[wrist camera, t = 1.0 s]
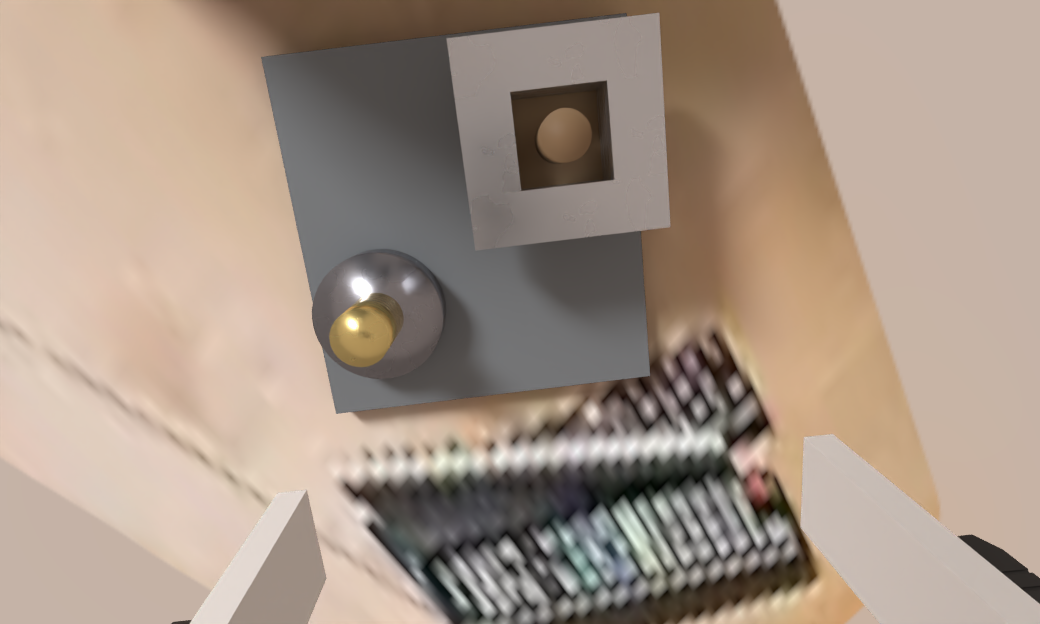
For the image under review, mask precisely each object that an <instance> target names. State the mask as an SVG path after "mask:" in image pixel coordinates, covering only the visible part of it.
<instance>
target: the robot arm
mask: <svg viewBox="0 0 1040 624" xmlns="http://www.w3.org/2000/svg"><path fill="white" fill-rule="evenodd" d="M801 528H802V530H803V531H804V532H805V533H806V535H807V536H808V537H809V538H810V539H811V541H812V542H813V543H814V544H815V546H816V547H817V548H818V549H819V550H820V552H821V553H822V554H823V555H824V556H825V558H826V559H827V560H828V561H829V563H830V564H831V565H832V566H833V567H834V569H835V570H836V571H837V572H838V574H839V575H840V576H841V577H842V578H843V580H844V581H845V582H846V583H847V585H848V586H849V587H850V588H851V589H852V591H853V592H854V593H855V594H856V595H857V597H858V598H859V599H860V600H861V602H862V603H863V604H864V605H865V606H866V608H867V609H868V610H869V611H870V613H871V614H872V615H873V616H874V617H875V619H876V620H877V621H878V622H879V623H880V624H1040V578H1039V577H1038V576H1036V575H1035V574H1034V573H1029V572H1028V569H1027V568H1026V567H1025V566H1023V565H1022V564H1021V563H1019V562H1018V561H1017V560H1016V559H1014V558H1013V557H1011V556H1010V555H1009V554H1008V553H1006V552H1005V551H1004V550H1002V549H1000V548H998V547H996V546H994V545H992V544H990V543H988V542H986V541H984V540H982V539H980V538H978V537H976V536H974V535H964V536H956V535H955V534H954V533H953V532H951V531H950V530H949V529H948V528H946V527H945V526H944V525H943V524H942V523H940V522H939V521H938V520H937V519H936V518H934V517H933V516H932V515H931V514H929V513H928V512H927V511H926V510H925V509H923V508H922V507H921V506H920V505H918V504H917V503H916V502H915V501H914V500H912V499H911V498H910V497H909V496H908V495H906V494H905V493H904V492H903V491H901V490H900V489H899V488H898V487H897V486H895V485H894V484H893V483H892V482H890V481H889V480H888V479H887V478H886V477H884V476H883V475H882V474H881V473H879V472H878V471H877V470H876V469H875V468H873V467H872V466H871V465H870V464H869V463H867V462H866V461H865V460H864V459H862V458H861V457H860V456H859V455H858V454H856V453H855V452H854V451H853V450H851V449H850V448H849V447H848V446H847V445H845V444H844V443H843V442H842V441H841V440H839V439H838V438H837V437H836V436H834V435H833V434H829V435H820V436H810V437H804V448H803V476H802V504H801ZM325 580H326V574H325V570H324V565H323V561H322V556H321V552H320V547H319V543H318V538H317V534H316V529H315V525H314V520H313V516H312V512H311V507H310V503H309V498H308V494H307V490H300V491H291V492H281V493H277V494H276V496H275V497H274V499H273V500H272V502H271V503H270V505H269V506H268V508H267V509H266V511H265V512H264V514H263V515H262V517H261V518H260V520H259V521H258V523H257V524H256V526H255V527H254V529H253V530H252V532H251V533H250V535H249V536H248V537H247V539H246V540H245V542H244V543H243V545H242V546H241V548H240V549H239V551H238V552H237V554H236V555H235V557H234V558H233V560H232V561H231V563H230V564H229V566H228V567H227V569H226V570H225V572H224V573H223V575H222V576H221V578H220V579H219V581H218V582H217V584H216V585H215V587H214V588H213V590H212V591H211V593H210V594H209V596H208V597H207V598H206V600H205V601H204V603H203V604H202V606H201V608H200V609H199V610H198V612H197V613H196V615H195V616H194V618H193V619H192V620H188V621H178V622H173V623H172V624H307V623H308V621H309V619H310V616H311V614H312V611H313V609H314V607H315V604H316V602H317V599H318V597H319V595H320V592H321V590H322V587H323V585H324V583H325Z"/></svg>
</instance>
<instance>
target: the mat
mask: <svg viewBox="0 0 1040 624" xmlns="http://www.w3.org/2000/svg"><path fill="white" fill-rule="evenodd" d="M620 17H627V13H623V14H615V15H607V16H598V17H590V18H582V19H573V20H565V21H557V22H548V23H540V24H532V25H523V26H515V27H507V28H498V29H490V30H482V31H474V32H465V33H457V34H449V35H440V36H432V37H424V38H415V39H407V40H399V41H390V42H382V43H374V44H366V45H357V46H349V47H341V48H332V49H324V50H316V51H307V52H299V53H291V54H282V55H274V56H266V57H261V59H262V63H263V68H264V73H265V78H266V82H267V87H268V92H269V97H270V101H271V106H272V111H273V116H274V120H275V125H276V130H277V135H278V139H279V144H280V149H281V154H282V158H283V163H284V168H285V173H286V177H287V182H288V187H289V192H290V196H291V201H292V206H293V211H294V215H295V220H296V225H297V230H298V234H299V239H300V244H301V249H302V253H303V258H304V263H305V268H306V272H307V277H308V282H309V287H310V291H311V296H312V301H313V300H314V297H315V293H316V291H317V289H318V286H319V285H320V283H321V281H322V280H323V278H324V277H325V276H326V275H327V274H328V272H329V271H331V270H332V269H333V268H334V267H335V266H337V265H338V264H340V263H341V262H343V261H345V260H346V259H348V258H350V257H352V256H354V255H356V254H358V253H361V252H364V251H368V250H373V249H391V250H396V251H400V252H403V253H406V254H408V255H410V256H412V257H414V258H416V259H417V260H419V261H420V262H422V263H423V264H424V265H425V266H426V267H427V268H428V269H429V270H430V271H431V272H432V273H433V275H434V276H435V277H436V279H437V280H438V282H439V284H440V286H441V288H442V291H443V294H444V298H445V303H446V319H445V324H444V327H443V330H442V333H441V336H440V338H439V341H438V343H437V345H436V347H435V349H434V351H433V352H432V354H431V355H430V356H429V357H428V359H427V360H426V361H425V362H424V363H423V364H421V365H420V366H419V367H418V368H416V369H414V370H413V371H411V372H409V373H407V374H405V375H402V376H399V377H394V378H389V379H372V378H367V377H362V376H359V375H356V374H354V373H352V372H349V371H347V370H346V369H344V368H343V367H341V366H340V365H338V364H337V363H336V362H335V361H333V360H332V359H331V357H330V356H329V355H328V354H327V353H326V352H325V350H324V349H323V353H324V358H325V362H326V367H327V372H328V377H329V381H330V386H331V391H332V396H333V400H334V405H335V410H336V414H338V413H346V412H355V411H363V410H371V409H380V408H388V407H396V406H405V405H413V404H421V403H429V402H438V401H446V400H454V399H463V398H471V397H479V396H488V395H496V394H504V393H513V392H521V391H529V390H537V389H546V388H554V387H562V386H571V385H579V384H587V383H596V382H604V381H612V380H620V379H629V378H637V377H645V376H650V367H649V352H648V336H647V321H646V305H645V290H644V275H643V259H642V244H641V231H634V232H626V233H618V234H609V235H601V236H593V237H584V238H576V239H568V240H560V241H551V242H543V243H535V244H526V245H518V246H510V247H501V248H493V249H485V250H476V251H475V245H474V237H473V230H472V223H471V215H470V208H469V201H468V193H467V186H466V179H465V171H464V164H463V156H462V149H461V142H460V134H459V127H458V120H457V112H456V105H455V98H454V90H453V83H452V76H451V68H450V61H449V54H448V46H447V39H446V38H453V37H462V36H470V35H478V34H487V33H495V32H503V31H512V30H520V29H528V28H536V27H545V26H553V25H561V24H570V23H578V22H586V21H595V20H603V19H611V18H620Z"/></svg>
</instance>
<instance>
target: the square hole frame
mask: <svg viewBox="0 0 1040 624" xmlns="http://www.w3.org/2000/svg"><path fill="white" fill-rule="evenodd" d="M446 39H447V46H448V54H449V61H450V68H451V76H452V83H453V90H454V98H455V105H456V112H457V120H458V127H459V134H460V142H461V149H462V156H463V164H464V171H465V179H466V186H467V193H468V201H469V208H470V215H471V223H472V230H473V237H474V245H475V251H476V250H485V249H493V248H501V247H510V246H518V245H526V244H535V243H543V242H551V241H560V240H568V239H576V238H584V237H593V236H601V235H609V234H618V233H626V232H634V231H643V230H651V229H659V228H668V227H670V208H669V189H668V170H667V150H666V131H665V112H664V93H663V74H662V55H661V36H660V16H659V13H653V14H644V15H636V16H628V17H620V18H611V19H603V20H595V21H586V22H578V23H570V24H561V25H553V26H545V27H536V28H528V29H520V30H512V31H503V32H495V33H487V34H478V35H470V36H462V37H453V38H446ZM594 90H596V97H597V110H598V122H599V135H600V148H601V160H602V173H603V179H601V180H593V181H584V182H576V183H568V184H560V185H551V186H543V187H535V188H526V189H521V184H520V175H519V166H518V157H517V149H516V140H515V131H514V122H513V114H512V105H511V100H519V99H527V98H536V97H544V96H552V95H561V94H569V93H577V92H586V91H594Z"/></svg>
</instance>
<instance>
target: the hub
mask: <svg viewBox="0 0 1040 624" xmlns="http://www.w3.org/2000/svg"><path fill="white" fill-rule="evenodd" d="M445 319H446V303H445V298H444V294H443V291H442V288H441V286H440V284H439V282H438V280H437V279H436V277H435V276H434V275H433V273H432V272H431V271H430V270H429V269H428V268H427V267H426V266H425V265H424V264H423V263H422V262H420V261H419V260H417V259H416V258H414V257H412V256H410V255H408V254H406V253H403V252H400V251H396V250H391V249H373V250H368V251H364V252H361V253H358V254H356V255H354V256H352V257H350V258H348V259H346V260H345V261H343V262H341V263H340V264H338V265H337V266H335V267H334V268H333V269H332V270H331V271H329V272H328V274H327V275H326V276H325V277H324V278H323V280H322V281H321V283H320V285H319V286H318V289H317V291H316V293H315V297H314V300H313V307H312V320H313V326H314V330H315V333H316V336H317V338H318V340H319V342H320V344H321V346H322V348H323V349H324V350H325V352H326V353H327V354H328V355H329V356H330V357H331V359H332V360H333V361H335V362H336V363H337V364H338V365H340V366H341V367H343V368H344V369H346V370H347V371H349V372H352V373H354V374H356V375H359V376H362V377H367V378H372V379H389V378H394V377H399V376H402V375H405V374H407V373H409V372H411V371H413V370H414V369H416V368H418V367H419V366H420V365H421V364H423V363H424V362H425V361H426V360H427V359H428V357H429V356H430V355H431V354H432V352H433V351H434V349H435V347H436V345H437V343H438V341H439V338H440V336H441V333H442V330H443V327H444V324H445Z"/></svg>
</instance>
